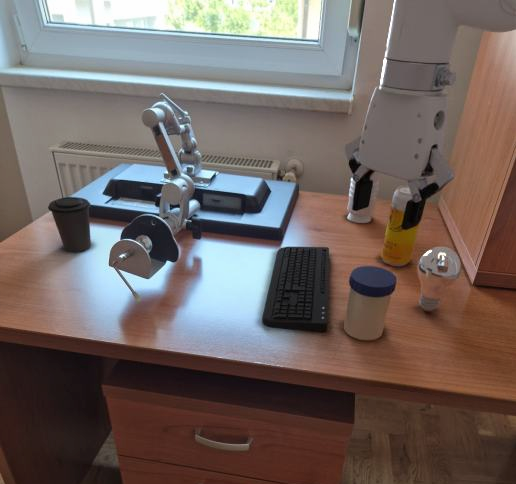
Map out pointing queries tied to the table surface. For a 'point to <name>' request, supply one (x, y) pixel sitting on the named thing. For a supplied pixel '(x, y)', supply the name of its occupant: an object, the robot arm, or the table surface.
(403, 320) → the table surface
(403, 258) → the yellow bottle
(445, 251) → the light bulb
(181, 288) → the table surface
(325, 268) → the keyboard
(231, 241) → the table surface
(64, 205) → the coffee cup
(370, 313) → the jar
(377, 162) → the robot arm
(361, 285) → the lid
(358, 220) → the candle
